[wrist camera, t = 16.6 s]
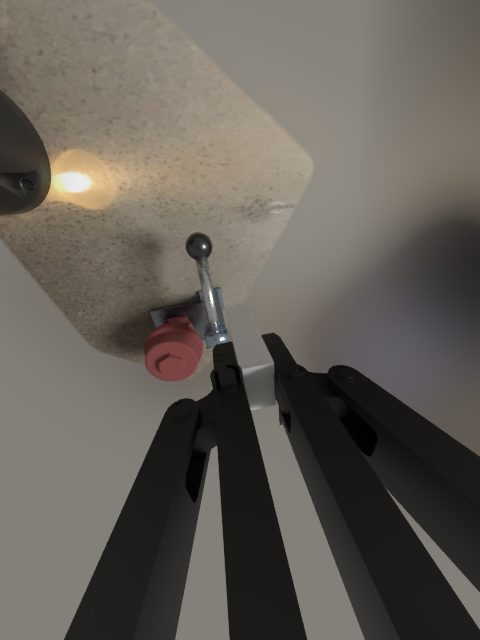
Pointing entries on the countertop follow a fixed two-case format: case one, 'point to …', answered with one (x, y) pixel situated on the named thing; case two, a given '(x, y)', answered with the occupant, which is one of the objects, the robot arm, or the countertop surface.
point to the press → (191, 313)
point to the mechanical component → (173, 350)
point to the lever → (206, 287)
